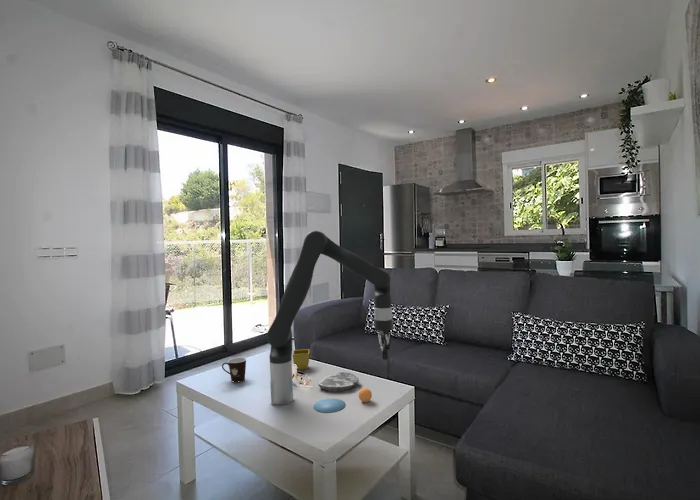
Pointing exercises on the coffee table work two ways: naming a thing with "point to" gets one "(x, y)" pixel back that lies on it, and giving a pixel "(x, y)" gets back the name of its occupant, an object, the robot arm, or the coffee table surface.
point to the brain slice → (338, 382)
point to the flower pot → (301, 358)
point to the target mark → (329, 405)
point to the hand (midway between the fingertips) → (384, 359)
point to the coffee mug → (236, 369)
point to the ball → (365, 394)
